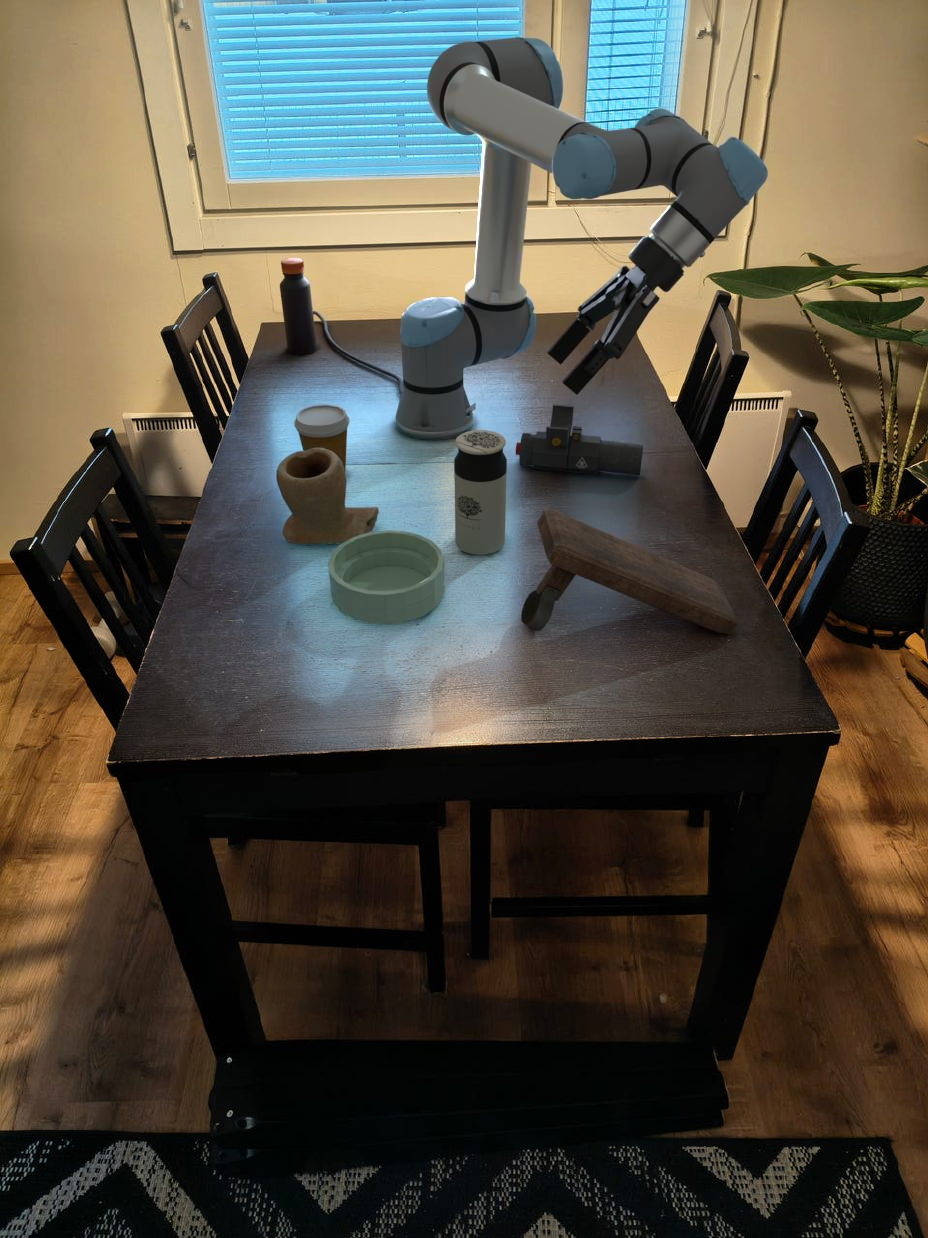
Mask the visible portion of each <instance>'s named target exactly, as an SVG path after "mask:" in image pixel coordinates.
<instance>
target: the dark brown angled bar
mask: <svg viewBox="0 0 928 1238" xmlns="http://www.w3.org/2000/svg"><path fill="white" fill-rule="evenodd" d="M536 524H537V527H538V531H539V535H540V538H541V543H542V546H543V549H544V553H545V556H546V559H547V561H548V563H549V564H550V565H551V566H550V567H549V569H548V570H547V572H546V573H545V574H544V576H543V577H542V579H541V581H540V582H539V584H538V585H537V587H536V589H534V590H532V591H531V592H530V593H529V594H528V595H527V597H526V598H525V601H524V603H523V605H522V609H521V613H520V615H521V616H520V619H521V620H520V621H521V623H522V624H523V625H524V626H526V627H528V628H531V629H533V630H536V631H541V630H543V629H544V628H545V627H546V626H547V624H548V623H549V622H550V620H551V617H552V614H553V611H554V609H555V608H554V607H555V603H556V602H557V601H559V600H560V598H561V597H562V596H563V594H564V593H565V591H566V590H567V589H568V587H569V586H570V584H571V583H572V581H573V580H574V579H575V577H576V576H577V577H578V576H579V577H582V578H583V579H586V580H588V581H591V582H592V583H595V584H597V585H600V586H603V587H605V588H608V589H610V590H613V591H614V592H617V593H620V594H622V595H624V596H627V597H630V598H632V599H635V600H637V601H639V602H642V603H644V604H647V605H649V606H652V607H654V608H656V609H659V610H661V611H664V612H666V613H669V614H671V615H674V616H675V617H678V618H681V619H683V620H685V621H688V622H690V623H692V624H695V625H698V626H700V627H702V628H705V629H707V630H709V631H712V632H715V633H718V634H727V635H730V634H731V633H732V632H733V631H734V630H735V628H736V627H737V626H738V625H739V621H738V618H737V616H736V613H735V612H734V610H733V608H732V606H731V604H730V603H729V601H728V598H727V596H726V595H725V593H724V591H723V589H722V587H721V586H720V585H719V583H717V582H716V581H715V580H714V579H713V578H711V577H709V576H707V575H705V574H702V573H699V572H697V571H696V570H695V571H694V570H693V569H691V568H688V567H686V566H684V565H681V564H680V563H677V562H674V561H672V560H670V559H668V558H665V557H663V556H661V555H658V554H656V553H655V552H651V551H649V550H646V549H645V548H643V547H640V546H638V545H636V544H633V543H631V542H628V541H626V540H624V539H622V538H619V537H617V536H614V535H613V534H610V533H608V532H606V531H603V530H601V529H599V528H596V527H594V526H592V525H590V524H588V523H585V522H583V521H581V520H578V519H576V518H573V517H571V516H569V515H566V514H564V513H562V512H559V511H557V510H556V509H553V508H551V507H550V508H546V509H544V510H543V512H542V514H541V515H540V516H539V518H538V520H537V523H536Z"/></svg>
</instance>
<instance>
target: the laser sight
mask: <svg viewBox="0 0 928 1238" xmlns="http://www.w3.org/2000/svg"><path fill="white" fill-rule="evenodd" d="M574 409H575V405H569V404H568V405H567V404H552V410H551V418H550V419H551V420H550V425H549V426H546V428H545V431H536V433H532V432H531V433H530V432H522V434H521V437H520V442H518V441H517V442H516V443H515V455H516V456H518V457H519V459H518V460H519V462H518V463H519V465H520V466H524V467H525V466H526V467H529V466H532V468H533V470H541V471H554V472H566V473H577V474H588V475H598V472H601V473H611V474H613V473H614V474H624V475H625V474H626V475H637V476H640V475H641V471H642V470H641V469H642V460H643V454H644V442H643V443H642V442H632V441H631V442H629V441H620V440H619V441H618V440H605V439H602V437H601V436H598V435H588V434H587V435H585V434H583V426H577V425H573V421H574V411H575V410H574Z"/></svg>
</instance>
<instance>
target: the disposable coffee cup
mask: <svg viewBox="0 0 928 1238" xmlns="http://www.w3.org/2000/svg"><path fill="white" fill-rule="evenodd" d="M350 422H351V421H350V418H349V416H348V415H347V412H346V410H345V409H344V408H343V407H341V406H339V405H336V404H327V403H326V404H325V403H324V404H323V403H321V404H314V405H309V406H306V407H304V408H302V409H300V410H299V411H298V412H296V414H295V419H294V422H293V425H294V428H295V430H296V431H297V432H298V433H297V434H298V436H299V440H300V444H301V447H302V451H305V450H309V449H312V448H324V449H327V450H330V451H332V452H334V453H335V454H336V455H337V456H338V457H339V458H340V460H341V461H342V463H343V466H344V469H345V471H346V470H347V469H346V467H347V447H348V446H347V444H348V437H347V436H348V427H349V424H350Z"/></svg>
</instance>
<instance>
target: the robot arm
mask: <svg viewBox="0 0 928 1238" xmlns="http://www.w3.org/2000/svg"><path fill="white" fill-rule="evenodd" d="M563 95H564V79H563V73H562V68H561V65H560V62H559V60H558V59H557V56H556V53H555V52H554V50H553V48H552V47H551V46H550V45H549V44H548V43H547V42H546V41H544V40H542V39H540V38H536V37H520V36H515V37H508V38H498V39H497V38H496V39H490V40H489V39H488V40H479V41H463V42H460V43H457V44H453V45H452V46H449V47H448V48H446V49H445V50H444V51H442V53H441V54H440V55H438V57H437V58H436V59H435V61H434V62H433V64H432V65H431V68H430V71H429V73H428V77H427V83H426V96H427V101H428V105H429V108H430V109H431V112H432V113H433V115H434V117H435V118H436V120H438V121H439V122H440V123H441V124H442V125H443V126H444V127H446V128H447V129H449V130H451V131H453V132H455V133H456V134H459V135H461V136H469V137H470V136H474V135H477V136H478V138H479V139H480V140H481V142H482V149H481V151H482V152H481V163H480V164H481V166H480V178H479V179H480V181H479V182H480V183H479V198H478V211H477V212H478V213H477V228H476V245H475V261H474V274H473V275H474V276H473V279H472V280H470V281H469V282H468V283H467V284H466V285H465V290H464V302H461V301H460V300H458V299H456V298H454V297H450V296H440V297H435V296H434V297H433V296H432V297H427V298H423V299H421V300H418V301H415V302H414V303H411V304H410V305H409V306H407V308H405V309H404V311H403V313H402V314H401V317H400V331H399V339H400V344H401V345H400V350H401V367H402V378H401V377H400V376H399V375H397V374H395V373H393V372H391V371H388V370H386V369H383V368H380V367H379V366H377V365H374V364H372V363H370V362H368V361H365V360H363V359H361V358H359V357H357V356H355V355H353V354H351V353H349V352H348V351H346V350H344V348H342V347H341V346H339V345H338V344H337V343H336V341H334V340H333V337H331V334H330V332H329V328H328V322H327V320H325V318H324V317H323V316H322V314H320V313H319V312H318V311H316V310H313V316H316V317H317V318H318V319H319V320H320V321H321V322H322V324H323V326H324V327H323V330H324V333H325V336H326V338H327V339H328V341H329V343H330V344H331V345H332V346H333V347H334V348H335V349H336V350H337V351H338V352H340V353H341V354H343V355H344V356H346V357H347V358H349V359H351V360H353V361H355V362H357V363H359V364H361V365H363V366H366V367H367V368H370V369H372V370H374V371H377V372H379V373H381V374H384V375H386V376H388V377H391V378H393V379H394V380H396V381H397V382H398V383H399V392H400V398H399V400H398V405H397V409H396V412H395V426H396V428H397V430H398V431H399V432H400V433H402V434H403V435H404V436H407V437H409V438H412V439H413V438H414V439H417V440H424V441H443V440H449V439H453V438H457V437H458V436H459V435H461V434H463V433H465V432H468V431H470V430H471V429H472V427H473V425H474V413H473V412H474V411H475V410H476V409H477V408H476V407H477V404H476V402H474V403H473V404H470V401H469V398H468V395H467V391H466V389H465V387H464V386H465V385H464V369H466V368H469V367H473V366H477V365H481V364H484V363H489V362H492V361H496V360H500V359H501V360H504V359H509V358H511V357H512V356H515V355H518V354H520V353H522V352H524V351H526V350H527V349H528V347H529V346H530V345H531V344H532V342H533V340H534V337H535V333H536V329H537V314H536V313H535V312H534V310H535V305H534V303H533V301H532V299H531V298H530V297H529V295H528V294H527V288H525V286H524V285H523V284H522V283H521V272H522V265H523V263H522V262H523V254H524V253H523V252H524V242H525V230H526V222H527V214H528V213H527V211H528V202H529V192H530V183H531V182H530V181H531V171H532V164H533V165H535V166H536V167H539V168H540V169H542V170H544V171H546V172H548V173H550V174H552V177H553V182H554V184H555V186H556V187H558V189H559V192H560V193H561V195H562V196H564V197H565V198H567V199H570V200H581V199H584V200H593V199H597V198H600V197H604V196H609V195H614V194H621V193H625V192H629V191H637V190H642V189H643V190H644V189H649V188H654V187H659V186H660V187H661V186H662V187H665V188H666V189H667V190H668V191H669V192H671V193H672V194H673V195H674V196H675V197H676V198H675V199H674V201H673V202H672V203H671V204H670V205H668V207H666V209H665V210H664V212H662V214H661V215H660V216H659V217H657V219H656V221H655V222H654V223H653V224H652V225H651V227H650V228H649V233H650V234H649V236H648V235H646V236H642V237H641V238H640V240H639V241H638V242H637V243H636V244H635V246H634V247H633V248H632V250H631V251H630V252H629V253H628V260H629V261H631V262H632V263H633V264H634V267H632V268H629V267H628V266H627V265H626V264H624V265H623V266H621V268H620V269H619V270H618V271H617V272H616V273H615V274H614V275H613V276H612V277H611V278H610V279H609V280H607V281H606V282H605V283H604V284H603V285H601V287H600V288H599V289H597V290H596V291H595V292H593V294H591V296H589V297H588V298H587V299H586V300H584V302H582V303H581V304H580V305H579V306H578V307H577V312H578V313H577V315H576V318H575V319H573V321H572V322H571V324H570V325H569V326H568V327H567V328H566V330H564V332H563V333H562V334H561V335H560V336H559V338H558V339H557V340H556V341H555V342H554V344H552V346H551V347H550V348H549V349H548V350H547V351H546V353H547V355H548V356H550V357H551V358H552V359H553V360H554V361H556V362H557V363H558V364H559V365H562V364H563V363H564V362H565V361H566V360H567V358H568V357H569V356H570V355H572V353H573V352H574V351H575V349H576V348H577V347H578V346H579V345H580V343H581V342H582V341H583V340H584V339H585V338H586V337H587V335H588V334H589V333H590V332H591V331H594V330H595V328H596V325H597V323H598V322H600V321H601V320H603V319H604V318H606V317H608V316H609V315H610V314H612V313H613V315H612V317H611V319H610V321H609V323H608V325H607V326H606V328H605V331H604V332H603V334H602V337H601V339H597V340H595V341H593V345H592V347H591V348H590V349H589V350H588V351H587V352H586V353H585V355H584V356H583V357H582V358H581V359H580V360H579V362H578V363H576V365H575V366H574V367H573V369H572V370H571V371H569V373H568V374H566V376H565V377H564V379H562V381H561V382H562V384H563V385H564V386H565V387H567V388H568V389H569V390H570V391H571V392H572V393H574V394H575V395H576V396H578V395H579V394H580V393H581V391H583V389H584V388H585V387H586V386H587V385H588V384H589V383H590V381H591V380H592V379H593V378H594V377H595V376H596V374H598V373H599V371H600V370H601V369H602V368H603V367H604V366H605V365H606V363H607V362H608V361H609V360H612V359H613V358H614V359H615V360H619V359H621V357H622V356H623V354H624V353H625V351H626V349H627V348H628V346H629V345H630V343H631V341H633V338H634V337H635V335H636V334H637V332H638V331H639V329H640V328H641V326H642V325H643V323H644V321H645V320H646V318H647V316H648V315H649V314H650V312H651V311H652V310H653V308H654V307H655V306H656V305H657V304H658V302H659V301H660V299H661V298H660V296H658V294H656V292H655V290H656V289H657V288H659V289H660V290H661V291H662V292H664V293H668V292H671V290H672V289H673V288H674V286H675V285H676V284H677V283H678V282H679V281H680V280H681V278H683V276H685V271H684V268H685V267H686V268H691V267H692V266H693V265H694V264H695V262H696V261H697V260H698V259H699V258H704V257H705V256H706V252H705V251H706V250H707V249H708V248H709V246H710V245H711V244H713V242H714V241H715V240H716V238H717V237H718V236H719V235H720V234H721V233H722V232H723V230H724V229H725V228H726V227H727V226H728V225H729V224H730V223H731V222H732V221H733V220H734V219H735V218H736V217H737V216H738V214H740V212H741V211H742V210H743V209H744V208H746V206H749V204H750V201H751V200H752V199H753V197H754V196H755V195H756V194H757V193H758V191H759V190H760V189H761V188H762V186H763V185H764V184H765V183H766V181H767V179H768V176H769V171H768V168H767V166H766V164H765V163H764V161H763V160H762V159H761V158H760V156H759V155H758V154H757V153H756V152H755V151H754V150H753V149H752V148H751V147H750V146H749V145H748V144H746V143H745V142H744V141H743V140H741V139H739V138H738V137H735V136H730V137H728V138H727V139H726V140H725V141H724V142H723V143H721V144H719V146H717V145H715V144H713V143H712V142H711V141H709V140H708V139H707V138H706V137H704V136H703V135H702V134H701V133H700V132H698V131H697V130H696V129H694V127H692V126H691V125H690V124H689V123H688V122H687V121H686V120H685V119H684V118H682V117H680V116H679V115H676V114H675V113H673V112H671V111H670V110H668V109H666V108H655V109H652V110H650V111H649V112H648V113H647V114H645V115H643V116H641V118H640V119H639V120H638V121H637V122H636V123H635V125H634V126H633V127H626V128H618V129H611V130H609V129H603V128H602V127H599V126H596V125H594V124H592V123H589V122H588V121H586V120H583V119H581V118H579V117H577V116H574V115H573V114H571V113H568V112H566V111H564V110H562V109H560V107H561V104H562V101H563Z"/></svg>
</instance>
